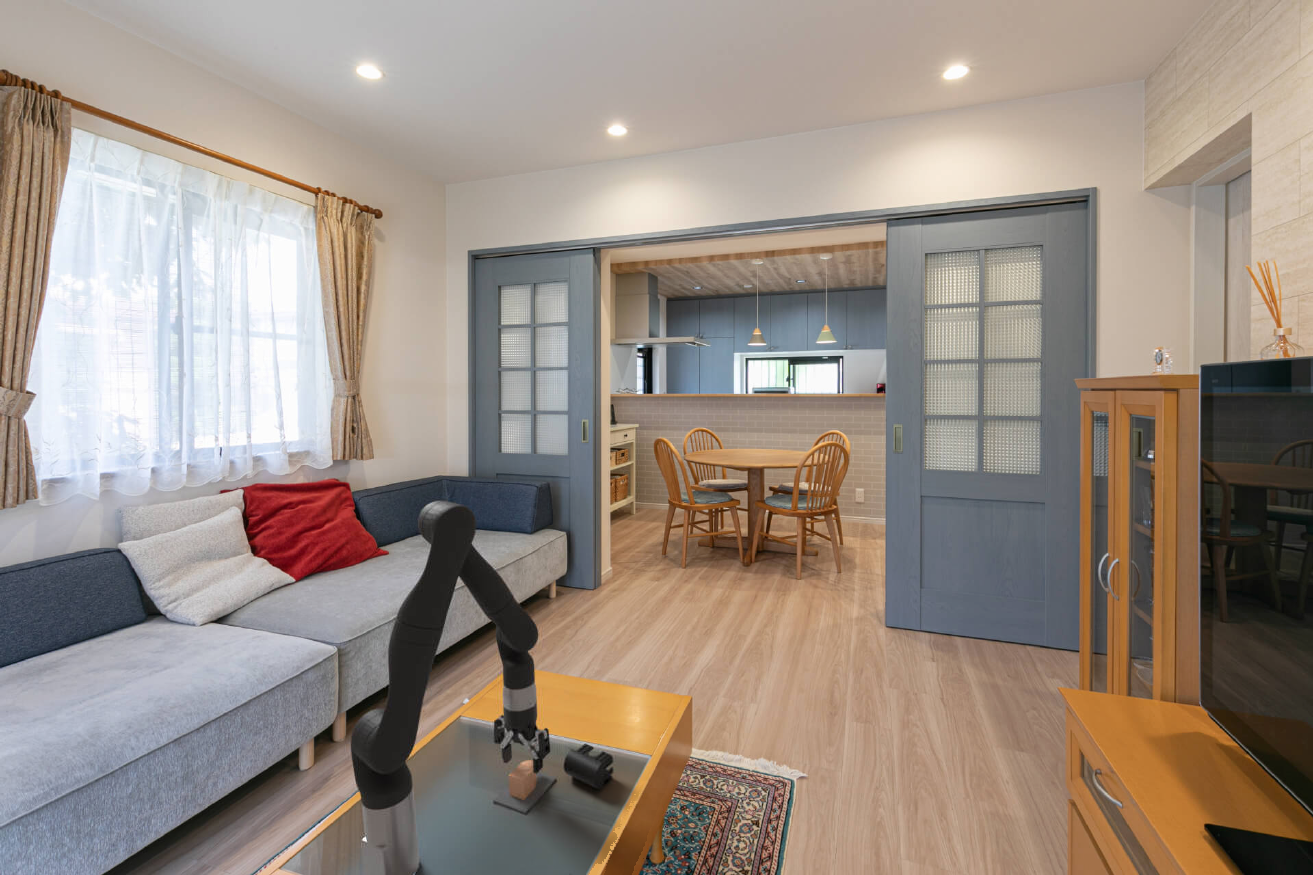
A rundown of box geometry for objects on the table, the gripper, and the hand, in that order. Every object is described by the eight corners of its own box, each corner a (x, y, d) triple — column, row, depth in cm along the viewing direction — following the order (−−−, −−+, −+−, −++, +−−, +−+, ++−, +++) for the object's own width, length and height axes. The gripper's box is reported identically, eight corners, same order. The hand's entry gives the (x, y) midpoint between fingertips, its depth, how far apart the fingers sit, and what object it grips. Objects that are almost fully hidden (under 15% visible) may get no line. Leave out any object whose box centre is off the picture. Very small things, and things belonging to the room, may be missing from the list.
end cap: (563, 781, 148) (562, 755, 147) (583, 764, 154) (582, 739, 153) (595, 797, 142) (594, 770, 141) (615, 779, 148) (614, 753, 147)
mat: (525, 813, 138) (525, 811, 138) (493, 802, 141) (493, 800, 141) (556, 779, 148) (555, 777, 148) (525, 769, 152) (525, 767, 152)
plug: (523, 799, 141) (522, 780, 140) (509, 795, 143) (508, 775, 142) (546, 775, 149) (545, 756, 148) (532, 771, 151) (531, 752, 150)
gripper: (484, 701, 141) (487, 767, 143) (535, 716, 135) (538, 784, 137) (505, 685, 148) (508, 748, 150) (555, 699, 142) (557, 764, 144)
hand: (522, 765), depth 144 cm, fingers open, 8 cm apart
